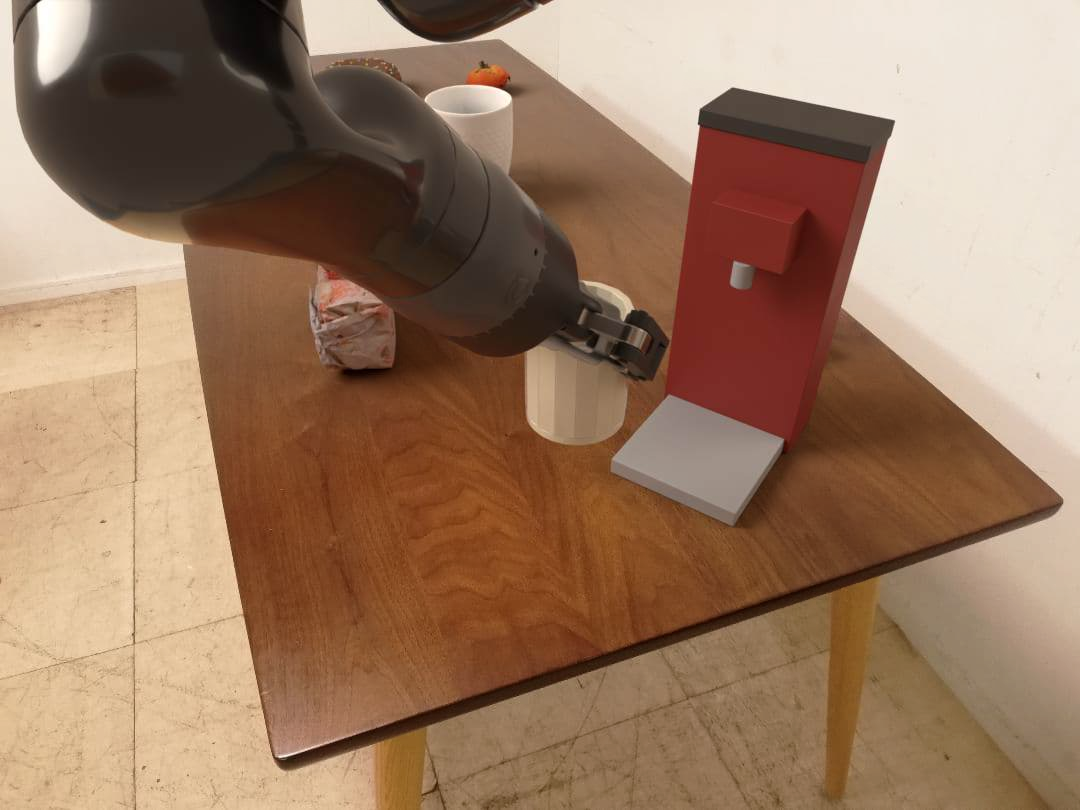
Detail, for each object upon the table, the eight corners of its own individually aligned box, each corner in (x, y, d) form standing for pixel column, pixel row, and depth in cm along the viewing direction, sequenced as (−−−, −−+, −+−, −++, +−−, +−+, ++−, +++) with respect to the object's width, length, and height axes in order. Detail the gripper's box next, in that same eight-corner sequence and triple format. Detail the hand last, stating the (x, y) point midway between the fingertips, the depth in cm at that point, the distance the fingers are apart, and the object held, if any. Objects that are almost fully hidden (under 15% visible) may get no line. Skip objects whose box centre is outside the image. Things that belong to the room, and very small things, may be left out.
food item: (405, 375, 79) (394, 286, 72) (320, 386, 77) (301, 296, 71) (391, 301, 89) (381, 217, 83) (316, 310, 87) (300, 225, 81)
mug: (445, 167, 117) (438, 73, 109) (521, 171, 116) (521, 76, 108) (423, 214, 105) (414, 112, 97) (508, 218, 105) (506, 116, 96)
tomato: (500, 71, 146) (505, 48, 139) (515, 106, 145) (520, 84, 138) (458, 83, 144) (460, 60, 137) (472, 119, 144) (475, 97, 136)
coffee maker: (739, 530, 63) (817, 204, 46) (603, 469, 69) (628, 155, 52) (811, 419, 74) (895, 120, 57) (688, 373, 79) (732, 86, 62)
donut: (347, 115, 133) (343, 83, 130) (307, 93, 141) (302, 63, 138) (421, 96, 140) (419, 66, 137) (379, 76, 148) (376, 47, 145)
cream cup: (631, 390, 55) (641, 287, 50) (615, 453, 50) (624, 345, 45) (539, 376, 56) (539, 274, 51) (514, 436, 51) (512, 329, 46)
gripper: (641, 217, 33) (720, 326, 48) (378, 141, 40) (520, 259, 55) (568, 386, 33) (670, 443, 48) (316, 284, 39) (476, 362, 55)
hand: (590, 345), depth 51 cm, fingers closed on cream cup, 6 cm apart
